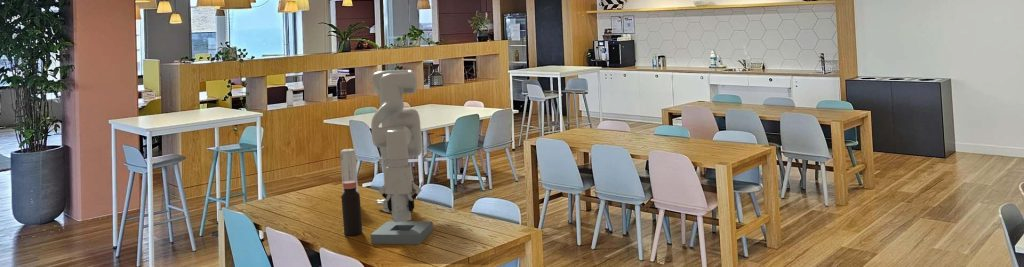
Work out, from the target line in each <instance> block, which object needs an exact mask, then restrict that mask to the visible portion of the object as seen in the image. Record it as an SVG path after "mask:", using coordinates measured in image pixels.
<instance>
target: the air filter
mask: <svg viewBox="0 0 1024 267" xmlns="http://www.w3.org/2000/svg"><path fill="white" fill-rule="evenodd" d="M339 155H340V157H339V158H340V168H341V170H340V171H341V181H342V182H341V183H342V186H343V182H345V181H356V191H357V192H358V193H359V186H358V182H359V181H358V173H357V171H358V170H357V158H356V156H357V155H356V151H355V149H354V148H346V149H342V150H341V151H340V153H339ZM343 193H344V188H343V187H342V194H343Z"/></svg>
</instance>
